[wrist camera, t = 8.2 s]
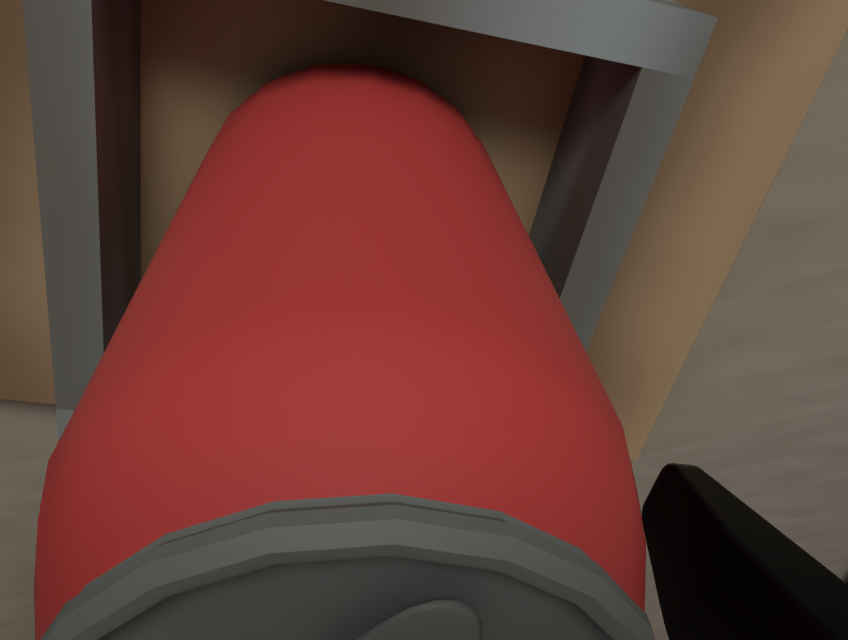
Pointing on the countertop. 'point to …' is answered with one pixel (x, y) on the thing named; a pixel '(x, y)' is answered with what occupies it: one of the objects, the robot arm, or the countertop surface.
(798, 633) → the robot arm
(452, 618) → the beer can
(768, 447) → the countertop surface
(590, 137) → the can holder
